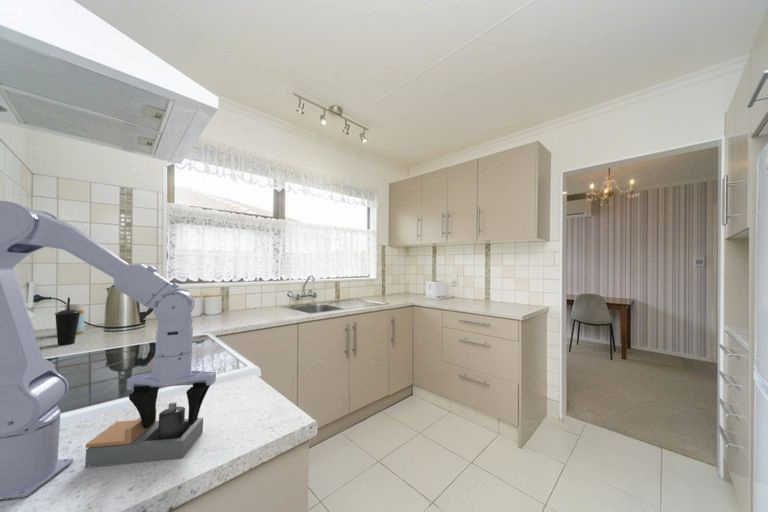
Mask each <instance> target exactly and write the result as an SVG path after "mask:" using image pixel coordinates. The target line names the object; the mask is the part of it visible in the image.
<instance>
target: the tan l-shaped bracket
mask: <svg viewBox="0 0 768 512" xmlns="http://www.w3.org/2000/svg"><path fill="white" fill-rule="evenodd" d="M156 421H157V413H156V414H155V422H156ZM155 422H154V423H155ZM154 423H153V424H154ZM153 424H152V425H153ZM152 425H151V426H152ZM147 429H148V428H146V429H144V427H143V423H142V420H141V417H140V416H139V417H138V418H137V419H134V420H132V419H131V420H123V421H121V420H120V421H118V420H117V421H116V422H115V423H113V424H111V425H110V426H109V427H108V428H105V430H104V431H102V432H100V434H98V435H96V436H95V437H94V438H92V439H91V440H89V441H88V442H87V443H85V449H88V448H89V447H100V446H111V445H122V444H131V443H132V442H133V441H134V440H136V439H137V438H138V437H139V436H140V435H141V434H142V433H144V432H145V431H146V430H147Z"/></svg>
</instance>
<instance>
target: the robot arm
mask: <svg viewBox="0 0 768 512" xmlns="http://www.w3.org/2000/svg"><path fill="white" fill-rule="evenodd" d="M43 248H52V249H59V250H63V251H65V252H67V253H69V254H71V255H73V256H74V257H76V258H77V259H80V260H82V261H83V262H84V263H87V264H89V265H90V266H92V267H93V268H96V269H97V270H99V271H101V272H103V273H104V274H106V275H107V276H110V277H111V278H112V279H113V284H114V285H113V286H114V289H116V290H118V291H119V292H120V293H122V294H124V295H126V296H128V297H129V298H131V299H132V300H134V301H136V302H137V303H138V304H141V305H142V306H143V307H145V308H147V309H153V310H152V311H153V314H154V316H155V318H156V319H157V329H156V336H155V359H154V373H149V374H141V375H139V374H138V375H133V376H131V377H130V378H127V379H126V391H132V393H130V394H129V395H128V400H129V401H130V402H131V403H132V404H133V406H134V407H135V409H136V410H137V412H138V414H139V418H140V417H141V420H142V423H143V427H144V429H146V428H149V427H150V426H151V425H152V424H153V423H154V422H155V414H156V415H157V401H158V400H157V399H158V394H159V390H160V387H178V386H180V387H181V386H191V387H190V388H189V389H187V390H186V393H185V394H186V397H187V402H188V403H187V404H188V416H187V417H188V418H187V419H188V424H189V425H193V424H194V423H195V422H196V420H197V419H198V418H199V413H200V410H201V406H202V404H203V401H204V398H205V397H206V394H207V392H208V390H209V389H210V388H211V386H212V385H214V383H216V381H217V372H216V371H204V370H203V371H202V370H192V359H193V357H192V356H193V336H194V335H193V334H194V333H193V331H194V327H193V323H194V322H193V314H192V312H193V310H194V308H195V305H196V301H195V298H194V296H193V294H191V292H190V291H189V290H187V289H185V288H179V287H180V284H179V283H177V282H173V283H172V282H171V281H170V280H168V279H167V278H164V277H163V276H162V275H160V274H159V273H157V271H158V269H157V268H156V267H154V266H153V265H148V266H146V265H145V264H143V263H136V264H135V263H133V264H131V263H128V262H127V261H125V260H124V259H122V257H119V256H118V255H117V254H115V253H114V252H112V251H111V250H109V249H108V248H107V247H105V246H104V245H103V244H101V243H99V242H98V241H96V240H95V239H94V238H93V237H91V236H90V235H88V234H86V233H85V232H84V231H82V230H81V229H79V228H78V227H75V226H74V225H72V224H70V223H68V222H66V221H64V220H61V219H59V218H58V217H57V216H55V215H54V214H52V213H49V212H47V211H43V210H37V209H33V208H30V207H26V206H23V205H21V204H18V203H15V202H12V201H7V200H0V498H1V499H2V500H10V499H9V498H11V499H19V498H25V497H27V496H29V495H31V494H32V493H33V492H35V491H36V490H38V489H39V488H40V487H42V486H43V485H44V484H45V483H47V482H48V481H50V480H51V479H52V478H53V477H55V476H56V475H57V474H59V473H60V472H61V471H62V470H64V469H66V468H67V467H68V466H69V465H71V464H72V463H73V462H74V458H64V459H59V445H60V428H61V427H60V426H61V414H62V413H61V412H62V411H61V410H60V409H59V404H60V403H61V402H62V401H63V400H64V399H65V398H66V396H67V394H68V393H69V388H70V385H69V382H68V380H67V378H65V377H64V376H63V375H61V374H60V373H59V372H58V371H57V370H56V368H55V367H56V366H55V364H54V363H53V362H51V361H50V360H48V359H46V358H44V357H43V356H42V352H41V350H40V346H39V344H38V341H37V340H38V339H37V337H36V334H35V331H34V328H33V326H32V322H31V318H30V316H29V312H28V310H27V307H26V303H25V301H24V298H23V294H22V292H21V291H22V290H21V287H20V286H19V282H18V280H17V276H16V274H15V269H14V267H16V266H17V265H18V264H19V263H20V262H21V261H23V260H24V259H25V258H26V257H28V256H29V255H30V254H31V253H34V252H36V251H39V250H41V249H43ZM4 498H5V499H4Z"/></svg>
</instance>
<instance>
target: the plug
mask: <svg viewBox="0 0 768 512" xmlns="http://www.w3.org/2000/svg"><path fill="white" fill-rule="evenodd" d="M158 414H159V415H158V421H159V429H158V440H165V439H176V438H181V437H182V435H183V434H184V421H185V419H186V418H185V417H186V416H185V415H186V409H185V407H184V406H177V402H173V401H172V402H170V403H169V404H168V408H166V409H164V410H162V411H161V412H159V413H158Z"/></svg>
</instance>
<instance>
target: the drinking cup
mask: <svg viewBox="0 0 768 512" xmlns="http://www.w3.org/2000/svg"><path fill="white" fill-rule="evenodd" d="M70 303H71V297H67V303H66V304H67V310H65V309H62V310H59V311H57V312H55V313H54V316H55V325H56V327H55V328H56V338H57V346H68V345H73V344H75V342H76V337H77V335H76V332H77V327H78V321H79V316H80V313H81V311H78V310H73V309H69V308H70Z"/></svg>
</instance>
